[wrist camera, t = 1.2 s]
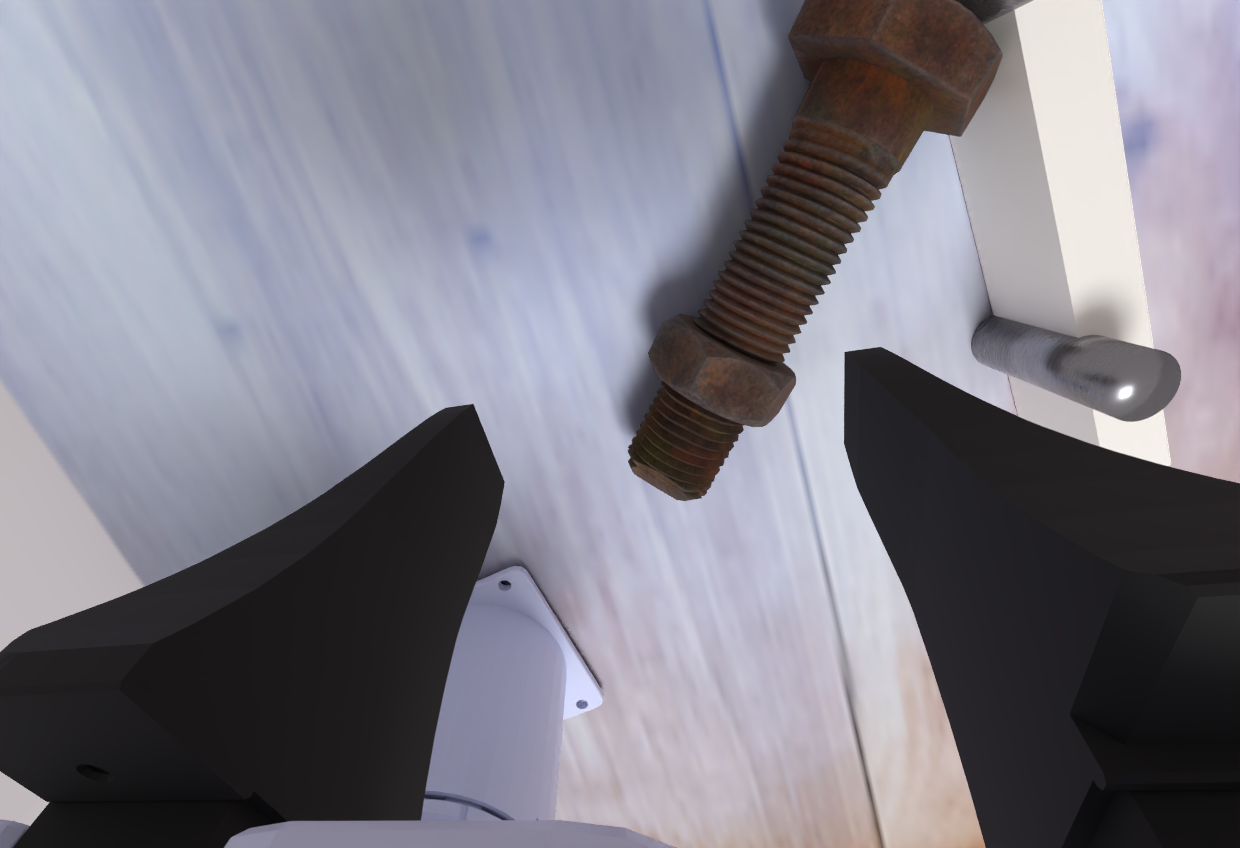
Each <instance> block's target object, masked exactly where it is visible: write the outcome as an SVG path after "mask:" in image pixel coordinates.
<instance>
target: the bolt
mask: <svg viewBox="0 0 1240 848" xmlns="http://www.w3.org/2000/svg"><path fill="white" fill-rule="evenodd" d="M788 38H789V40H790V43H791V45H792V47H793V50H794V52H795V55H796V57H797V60H798V62H799V65H800V67H801V70H802V72H803V74H804V77H805V78H807V79H808V80H810V81H812V83H811V85H810V87H809V89H808V91H807V93H806V95H805V97H804V99H803V101H802V103H801V105H800V107H799V109H798V111H797V113H796V115H795V117H794V119H793V122H792V130H791V132H790V135H789V140H788V141H786V142H785V143H784V145H783V148H784V150H785V152H780V153H779V155H778V157H777V158H778V161H779V163H780V164H774V165H773V167H772V168H771V169H772V171H773V173H774V175H768V177H767V180H766V182H767V184H768V186H765V187H762V188H761V190H760V191H761V193H762V196H763V198H757V199H756V200H755V203H756V205H757V207H758V209H752V210H750V214H751V217H752V220H745V221H744V223H745V226H746V228H747V230H740V231H739V234H740V236H741V238H742V240H737V241H734V242H733V243H734V245H735V247H736V249H737V250H734V251H729V254H730V256H731V258H732V260H730V261H724V262H723V263H724V265H725V267H726V269H727V270H723V271H719V272H718V273H719V275H720V277H721V279H722V280H717V281H714V282H713V283H714V285H715V287H716V290H712V291H709V293H710V296H711V298H712V299H709V300H705V301H704V303H705V305H706V307H707V308H706V309H701V310H699V313H700V315H701V317H702V318H696V317H693V316H688V315H683V314H680V315H677V316H674V317H672V318H671V319H669V320H667V321H666V322H664V323H663V324H662V326H661V328H660V330H659V332H658V334H657V336H656V338H655V340H654V343H653V345H652V347H651V349H650V351H649V353H648V354H649V357H650V360H651V363H652V366H653V369H654V371H655V372H656V373H657V375H658V376H659V377H660V379H662V380H663V381H662V386H663V388H661V389H659V390H658V391H657V393H658V395H659V396H657V397H655V398H654V399H653V402H654V404H653V405H650V407H649V411H650V413H646V415H645V416H644V417H645V420H646V421H643V422H642V423H641V424H640V426H641V429H640V430H638V431H637V434H636V437H634V438H633V439H632V444H631V445H629V447H628V448H629V449H628V453H629V455H630V457H631V458H630V459H629V461H628V462H629V465H630V467H631V469H632V471H633V473H634V474H635V475H637V476H638V477H640V478H641V479H643V480H645V481H646V482H648V483H649V484H651V485H653V486H654V487H656V488H658V489H659V490H661V491H663V492H664V493H666V494H668V495H669V496H671V497H673V498H674V499H676V500H681V501H687V500H693V499H699V498H702V497H701V496H704V495H705V494H706V493H707V490H708V489H709V488H710V487H711V482H713V481H714V478H715V475H716V474H717V473H718V472H719V471H720V469H719V467H720V466H722V465H723V464H724V459H725V458H727V457H728V455H729V451H730V450H731V449H732V448H733V447H734V445H733V442H735V441H738V436H739V435H738V434H740V433H741V432H742V431H743V430H744V429H743V426H742V425H747V426H751V427H763V426H765V425H767V424H768V423H769V422H770V421H772V419H773V418H774V417H775V416H776V415H777V414H778V413H779V411H780V410H781V408H782V406H783V405H784V403H785V401H786V400H787V398H788V396H789V395H790V393H791V391H792V390H793V388H794V386H795V385H796V376H795V374H794V372H793V371H792V370H791V369H790V368H789V367H788V366H786V365H785V364H784V363H783V362H784V357H783V354H782V353H789V352H790V349H789V347H788V344H792V343H795V339H794V336H793V335H795V334H799V333H801V331H800V328H799V326H798V325H803V324H806V323H807V321H806V319H805V317H804V315H810V314H812V313H813V312H812V310H811V308H810V305H816V304H818V303H819V302H818V301H817V299H816V297H815V295H822V294H824V293H825V292H824V291H823V289H822V287H821V285H827V284H830V283H831V282H830V280H829V279H828V277H827V275H832V274H835V273H836V271H835V269H834V268H833V266H832V265H835V264H840V263H841V260H840V258H839V256H838V254H843V253H846V252H847V249H846V247H845V245H844V244H846V243H851V242H853V241H854V238H853V237H852V235H851V233H856V232H860V230H861V227H860V226H859V225H858V223H859V222H864V221H867V219H868V216H867V215H866V213H865V212H864V211H870V210H873V209H874V208H875V206H874V204H873V203H872V202H871V201H872V200H877V199H880V197H881V192H880V191H879V190H878V189H883V188H886V187H887V185H888V184H889V182H890V180H891V178H892V177H893V175H894V174H896V173H897V172H899V171H900V169H901V168H902V166H903V164H904V163H905V161H906V159H907V158H908V156H909V154H910V153H911V151H912V149H913V148H914V146H915V144H916V143H917V141H918V139H919V138H920V136H921V134H922V133H923V131H924V130H925V131H930V132H936V133H941V134H947V135H952V136H958V137H961V136H962V135H963V133H964V131H965V130H966V128H967V126H968V125H969V123H970V121H971V120H972V118H973V116H974V115H975V113H976V111H977V110H978V108H979V107H980V105H981V103H982V102H983V100H984V98H985V96H986V94H987V92H988V90H989V88H990V86H991V84H992V82H993V80H994V78H995V75H996V73H997V70H998V67H999V65H1000V62H1001V59H1002V57H1003V53H1002V51H1001V49H1000V47H999V46H998V44H997V42H996V41H995V39H994V37H993V35H992V34H991V33H990V32H989V31H988V29H987V28H986V27H985V26H984V25H983V23H982V22H981V21H980V20H979V19H978V18H977V16H976V15H975V14H974V13H973V12H972V11H970V10H969V9H968V8H966V7H965V6H964V5H962V4H961V3H959V2H957V1H955V0H805V2H804V4H803V6H802V8H801V11H800V13H799V15H798V17H797V19H796V21H795V23H794V25H793V27H792V29H791V31H790V33H789V35H788Z"/></svg>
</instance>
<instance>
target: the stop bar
mask: <svg viewBox="0 0 1240 848" xmlns="http://www.w3.org/2000/svg"><path fill="white" fill-rule="evenodd" d="M955 1H957V2H959V3H961V4H962V5H964V6H965V7H966V8H968V9H969V10H970V11H972V12H973V13H974V14H975V15H976V16H977V18H978V19H979V20H980V21H981V22H982V23H983V25H984V26H985V27H986V28H987V29H988V31H989V32H990V33H991V34H992V35H993V37H994V39H995V41H996V42H997V44H998V46H999V47H1000V49H1001V51H1002V53H1003V57H1002V59H1001V62H1000V65H999V67H998V70H997V73H996V75H995V78H994V80H993V82H992V84H991V86H990V88H989V90H988V92H987V94H986V96H985V98H984V100H983V102H982V103H981V105H980V107H979V108H978V110H977V111H976V113H975V115H974V116H973V118H972V120H971V121H970V123H969V125H968V126H967V128H966V130H965V131H964V133H963V135H962V136H961V137H958V136H952V135H949V136H950V140H951V144H952V149H953V153H954V157H955V161H956V165H957V169H958V173H959V177H960V181H961V185H962V189H963V193H964V198H965V202H966V206H967V210H968V214H969V218H970V222H971V226H972V230H973V234H974V238H975V242H976V246H977V251H978V255H979V259H980V263H981V267H982V271H983V275H984V279H985V283H986V287H987V291H988V295H989V300H990V304H991V308H992V312H993V316H991V317H989V318H988V319H986V320H985V321H984V322H983V323H982V324H981V325H980V326H979V327H978V329H977V330H976V332H975V334H974V336H973V340H972V352H973V355H974V356H975V358H976V359H977V361H979V362H980V363H981V364H983V365H985V366H988V367H990V368H993V369H995V370H998V371H1000V372H1003V373H1005V374H1008V377H1009V381H1010V385H1011V389H1012V393H1013V398H1014V402H1015V406H1016V410H1017V414H1018V417H1021V418H1023V419H1025V420H1028V421H1030V422H1033V423H1035V424H1038V425H1040V426H1043V427H1046V428H1048V429H1051V430H1054V431H1057V432H1060V433H1062V434H1065V435H1068V436H1071V437H1073V438H1076V439H1079V440H1082V441H1084V442H1087V443H1090V444H1093V445H1097V446H1100V447H1103V448H1106V449H1109V450H1112V451H1115V452H1119V453H1122V454H1126V455H1130V456H1133V457H1137V458H1140V459H1144V460H1147V461H1151V462H1154V463H1158V464H1161V465H1165V466H1169V465H1171V459H1170V453H1169V446H1168V439H1167V433H1166V426H1165V419H1164V413H1163V408H1165V407H1166V406H1167V405H1168V404H1169V403H1170V401H1171V400H1172V399H1173V397H1174V396H1175V394H1176V392H1177V390H1178V387H1179V385H1180V380H1181V370H1180V366H1179V364H1178V362H1177V360H1176V359H1175V358H1174V357H1173V356H1172V355H1171V354H1169V353H1167V352H1164V351H1161V350H1157V349H1154V346H1153V339H1152V333H1151V326H1150V319H1149V313H1148V306H1147V299H1146V293H1145V286H1144V279H1143V273H1142V266H1141V259H1140V253H1139V246H1138V239H1137V233H1136V226H1135V219H1134V213H1133V206H1132V199H1131V193H1130V186H1129V179H1128V173H1127V166H1126V159H1125V153H1124V146H1123V139H1122V133H1121V126H1120V119H1119V113H1118V106H1117V100H1116V93H1115V86H1114V80H1113V73H1112V66H1111V60H1110V53H1109V46H1108V40H1107V33H1106V26H1105V20H1104V13H1103V6H1102V0H955Z"/></svg>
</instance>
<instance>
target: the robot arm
mask: <svg viewBox="0 0 1240 848" xmlns="http://www.w3.org/2000/svg"><path fill="white" fill-rule="evenodd" d="M844 445H845V448H846V452H847V455H848V459H849V462H850V466H851V469H852V472H853V475H854V479H855V482H856V485H857V488H858V490H859V493H860V495H861V497H862V499H863V501H864V504H865V506H866V508H867V510H868V512H869V515H870V517H871V519H872V521H873V523H874V525H875V527H876V530H877V532H878V534H879V536H880V538H881V540H882V542H883V545H884V547H885V549H886V551H887V553H888V555H889V557H890V559H891V562H892V564H893V566H894V568H895V570H896V572H897V574H898V577H899V579H900V581H901V583H902V585H903V587H904V590H905V592H906V595H907V597H908V600H909V602H910V604H911V607H912V609H913V612H914V615H915V618H916V621H917V624H918V627H919V630H920V633H921V636H922V639H923V642H924V645H925V648H926V651H927V653H928V656H929V659H930V662H931V666H932V669H933V672H934V675H935V678H936V681H937V684H938V687H939V691H940V694H941V697H942V700H943V703H944V706H945V709H946V713H947V716H948V719H949V722H950V725H951V729H952V732H953V735H954V739H955V742H956V746H957V749H958V752H959V756H960V759H961V762H962V766H963V769H964V772H965V776H966V779H967V782H968V786H969V789H970V792H971V796H972V800H973V803H974V807H975V810H976V814H977V818H978V821H979V825H980V828H981V832H982V836H983V839H984V843H985V846H986V848H1240V483H1235V482H1231V481H1226V480H1221V479H1217V478H1213V477H1209V476H1204V475H1200V474H1196V473H1192V472H1188V471H1184V470H1180V469H1176V468H1172V467H1168V466H1165V465H1161V464H1158V463H1154V462H1151V461H1147V460H1144V459H1140V458H1137V457H1133V456H1130V455H1126V454H1122V453H1119V452H1115V451H1112V450H1109V449H1106V448H1103V447H1100V446H1097V445H1093V444H1090V443H1087V442H1084V441H1082V440H1079V439H1076V438H1073V437H1071V436H1068V435H1065V434H1062V433H1060V432H1057V431H1054V430H1051V429H1048V428H1046V427H1043V426H1040V425H1038V424H1035V423H1033V422H1030V421H1028V420H1025V419H1023V418H1021V417H1018V416H1016V415H1014V414H1012V413H1009V412H1007V411H1005V410H1003V409H1000V408H998V407H996V406H994V405H992V404H989V403H987V402H985V401H983V400H981V399H979V398H977V397H975V396H973V395H971V394H969V393H967V392H965V391H963V390H961V389H959V388H957V387H955V386H953V385H951V384H949V383H947V382H945V381H943V380H942V379H940V378H938V377H936V376H934V375H932V374H930V373H929V372H927V371H925V370H923V369H921V368H920V367H918V366H916V365H914V364H912V363H911V362H909V361H907V360H905V359H903V358H901V357H900V356H898V355H896V354H894V353H892V352H890V351H888V350H886V349H884V348H882V347H877V348H870V349H863V350H856V351H849V352H845V386H844ZM503 488H504V480H503V477H502V475H501V472H500V470H499V467H498V465H497V462H496V460H495V457H494V455H493V452H492V450H491V447H490V445H489V442H488V440H487V437H486V435H485V432H484V430H483V427H482V425H481V422H480V420H479V417H478V415H477V412H476V410H475V407H474V405H473V404H470V405H463V406H456V407H449V408H445V409H443V410H441V411H439V412H437V413H436V414H434V415H433V416H431V417H430V418H428V419H427V420H425V421H424V422H422V423H421V424H420V425H418V426H417V427H415V428H414V429H413V430H411V431H410V432H409V433H407V434H406V435H405V436H403V437H402V438H400V439H399V440H398V441H396V442H395V443H394V444H392V445H391V446H390V447H388V448H387V449H386V450H384V451H383V452H382V453H380V454H379V455H378V456H376V457H375V458H374V459H372V460H371V461H370V462H368V463H367V464H366V465H364V466H363V467H361V468H360V469H358V470H357V471H355V472H354V473H353V474H351V475H350V476H348V477H347V478H345V479H344V480H343V481H341V482H340V483H338V484H337V485H335V486H334V487H333V488H331V489H330V490H328V491H327V492H325V493H324V494H322V495H321V496H319V497H318V498H316V499H315V500H313V501H312V502H310V503H308V504H307V505H305V506H304V507H302V508H300V509H299V510H297V511H295V512H294V513H292V514H290V515H289V516H287V517H285V518H284V519H282V520H280V521H278V522H277V523H275V524H273V525H272V526H270V527H268V528H266V529H264V530H263V531H261V532H259V533H257V534H255V535H253V536H251V537H249V538H247V539H245V540H243V541H241V542H239V543H237V544H235V545H234V546H232V547H230V548H228V549H226V550H224V551H222V552H220V553H218V554H216V555H214V556H212V557H210V558H208V559H206V560H204V561H202V562H200V563H198V564H195V565H193V566H191V567H189V568H187V569H184V570H182V571H180V572H178V573H176V574H173V575H171V576H169V577H167V578H164V579H162V580H159V581H157V582H155V583H152V584H150V585H148V586H145V587H143V588H141V589H138V590H136V591H133V592H131V593H128V594H126V595H124V596H121V597H119V598H116V599H113V600H111V601H108V602H105V603H103V604H100V605H97V606H95V607H92V608H89V609H86V610H84V611H81V612H78V613H76V614H73V615H70V616H67V617H65V618H62V619H59V620H57V621H54V622H51V623H48V624H46V625H43V626H40V627H37V628H34V629H31V630H29V631H27V632H26V633H24V634H22V635H21V636H19V637H18V638H17V639H15V640H14V641H12V642H11V643H10V644H9V645H8V646H7V647H5V649H3V650H2V651H1V652H0V771H1V772H2V773H4V774H5V775H7V776H8V777H10V778H12V779H13V780H15V781H16V782H18V783H19V784H21V785H22V786H24V787H25V788H27V789H28V790H30V791H31V792H33V793H35V794H36V795H37V796H39V797H40V798H42V799H44V800H45V801H47V802H50V803H49V804H48V805H47V806H46V808H45V809H44V810H43V811H42V813H41V814H40V815H39V816H38V817H37V819H36V820H35V821H34V822H33V823H32V825H31V826H28V825H25V824H22V823H18V822H15V821H8V820H0V848H676V847H673V846H671V845H668V844H666V843H663V842H660V841H658V840H655V839H652V838H650V837H647V836H645V835H642V834H639V833H637V832H634V831H632V830H629V829H626V828H622V827H613V826H605V825H596V824H588V823H579V822H571V821H562V820H555V812H556V800H557V788H558V776H559V764H560V752H561V740H562V728H563V720H566V719H568V718H571V717H574V716H576V715H579V714H581V713H584V712H586V711H589V710H592V709H594V708H597V707H599V706H600V705H601V704H602V703H603V691H602V689H601V688H600V686H599V685H598V683H597V681H596V680H595V678H594V677H593V675H592V673H591V672H590V670H589V669H588V667H587V665H586V664H585V662H584V661H583V659H582V658H581V656H580V654H579V653H578V651H577V650H576V648H575V646H574V645H573V643H572V642H571V640H570V638H569V637H568V635H567V634H566V632H565V630H564V629H563V627H562V626H561V624H560V622H559V621H558V619H557V618H556V616H555V614H554V613H553V611H552V610H551V608H550V607H549V605H548V603H547V602H546V600H545V599H544V597H543V595H542V594H541V592H540V591H539V589H538V587H537V586H536V584H535V583H534V581H533V579H532V578H531V576H530V575H529V573H528V571H527V570H526V569H525V568H523V567H521V566H512V567H509V568H507V569H504V570H502V571H500V572H497V573H495V574H493V575H490V576H488V577H486V578H483V579H481V580H479V581H477V578H478V575H479V573H480V570H481V567H482V564H483V562H484V559H485V556H486V553H487V550H488V547H489V545H490V542H491V539H492V536H493V533H494V530H495V527H496V524H497V519H498V515H499V510H500V505H501V500H502V494H503ZM503 580H506V581H509V582H510V583H511V584H510V585H503V584H502V583H501V582H500V581H503ZM476 581H477V582H476ZM579 700H585V702H580V701H579Z"/></svg>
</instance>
